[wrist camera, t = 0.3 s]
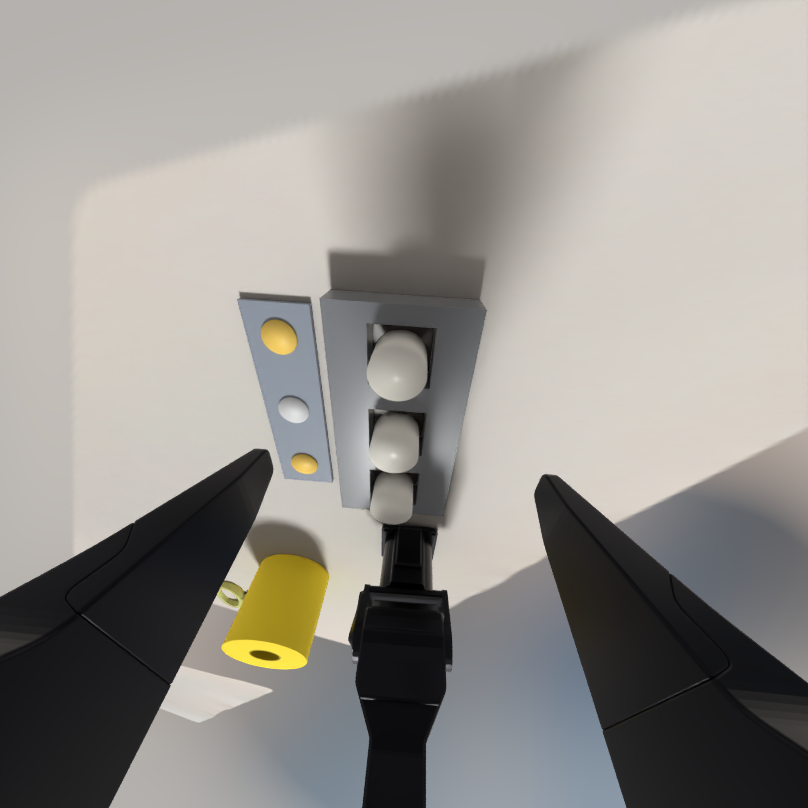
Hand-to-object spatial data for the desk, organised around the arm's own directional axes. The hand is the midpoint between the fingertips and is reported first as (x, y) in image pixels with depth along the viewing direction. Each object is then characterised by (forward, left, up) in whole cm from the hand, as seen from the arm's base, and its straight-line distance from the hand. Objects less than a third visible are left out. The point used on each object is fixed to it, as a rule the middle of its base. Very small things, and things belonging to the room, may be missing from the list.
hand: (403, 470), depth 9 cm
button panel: (-7, +1, -13) cm, 15 cm away
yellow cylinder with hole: (-37, +15, -14) cm, 43 cm away
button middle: (-7, +1, -11) cm, 14 cm away
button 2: (-14, +1, -11) cm, 18 cm away
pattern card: (-7, +10, -13) cm, 18 cm away
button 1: (-1, +1, -11) cm, 11 cm away
